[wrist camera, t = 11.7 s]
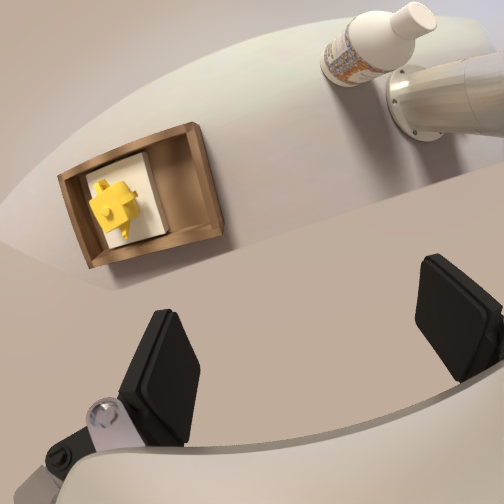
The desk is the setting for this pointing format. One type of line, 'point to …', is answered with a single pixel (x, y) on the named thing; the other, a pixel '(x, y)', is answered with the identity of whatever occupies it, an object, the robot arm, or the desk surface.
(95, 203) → the teapot
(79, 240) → the box
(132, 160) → the plate
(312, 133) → the desk surface
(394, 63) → the bath foam
